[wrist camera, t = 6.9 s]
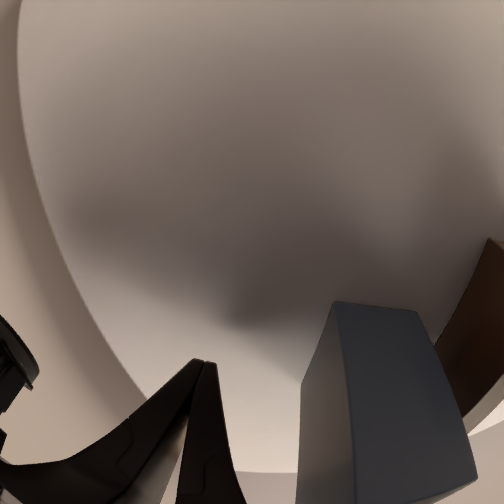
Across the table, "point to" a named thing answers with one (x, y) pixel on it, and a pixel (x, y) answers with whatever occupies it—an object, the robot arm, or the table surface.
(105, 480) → the robot arm
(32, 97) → the table surface
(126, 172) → the table surface
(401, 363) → the slate block
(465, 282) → the table surface
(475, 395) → the walnut rail
